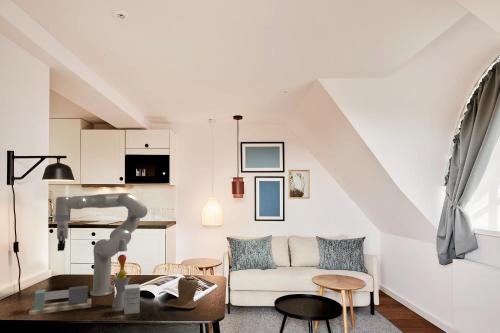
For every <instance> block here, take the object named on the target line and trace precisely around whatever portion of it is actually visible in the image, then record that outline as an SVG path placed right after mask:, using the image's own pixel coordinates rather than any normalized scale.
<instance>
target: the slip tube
mask: <svg viewBox="0 0 500 333" xmlns="http://www.w3.org/2000/svg"><path fill="white" fill-rule="evenodd" d="M67 298H68V299H69V289H62V290H61V289H60V290H52V291H45V293H44V300H45V301H48V300H49V301H50V300H59V299H67Z"/></svg>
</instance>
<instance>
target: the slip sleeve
mask: <svg viewBox="0 0 500 333" xmlns="http://www.w3.org/2000/svg"><path fill="white" fill-rule="evenodd" d="M68 290H69V297H68V300H67V302H68V306H69V305H77V304H85V303H87V300H88V299H89V296H88V295H89V285H80V286H79V285H78V286H71V287H70V286H69V287H68Z"/></svg>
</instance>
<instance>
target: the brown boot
mask: <svg viewBox="0 0 500 333" xmlns="http://www.w3.org/2000/svg"><path fill="white" fill-rule="evenodd" d="M198 285H199V283H198V280H197V279H196V278H192V277H185V276H184V277H183V276H182V277H180V278H179V279H178V282H177V291H178V297H177V298H173V299H170V300H168V301H167V302H166V303H165V305H166V306H167V307H172V308H178V309H187V310H189V309H194V308H196V307H197V306H198V302H196V301H195V300H194V298H195V295H196V292H197V289H198ZM166 306H165V307H166Z"/></svg>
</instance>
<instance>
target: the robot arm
mask: <svg viewBox="0 0 500 333" xmlns="http://www.w3.org/2000/svg"><path fill="white" fill-rule="evenodd" d="M120 207H122V208H123V207H125V209H127V217H126V219H125V220H124V221H123V222H122V223H121V224H120V225H119V226H117V227H116V228H115V229H113V230H112V231H111V232H110V235H109V239H100V240H98V241H96V242H95V244H94V245H93V251H92V252H93V282H92V284H93V285H92V290H91V291H90V292H89V295H90V296H92V297H103V296H107V295H108V296H109V295H111V294H113V292H114V290H115V289H114V285H112V284H111V277H112V276H111V275H112V273H111V272H112V257H114V256H116V255H117V254H118V253H119V251H118V247H119V242H120V239H126V244H127V245H128V244H129V243H130V242H131V239H132V233H134V232H135V231H136V229H137V228H138V226H139V224H140V221H141V220H140V219H143V218H145V217H146V216H147V215H148V208H147V206H146V205H145V204H143V202H142V201H141V200H139V199H138V198H137V197H135V196H134V195H133V194H131V193H129V192H121V193H120V192H117V193H115V192H114V193H101V194H100V193H99V194H93V195H91V194H89V195H74V196H57V197H56V199H55V214H54V218H55V219H54V222H57V225H56V228H57V229H56V238H57V241H58V242H57V252H63V251H65V248H66V240H68V238H69V222H71V213H72V212H71V211H72V210H82V209H85V208H86V209H90V208H96V209H109V208H120Z"/></svg>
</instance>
